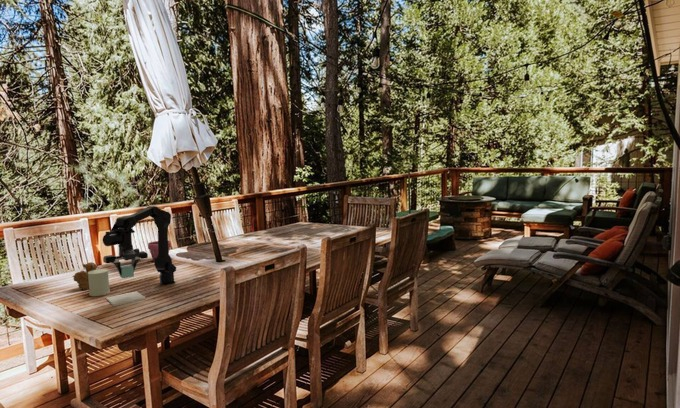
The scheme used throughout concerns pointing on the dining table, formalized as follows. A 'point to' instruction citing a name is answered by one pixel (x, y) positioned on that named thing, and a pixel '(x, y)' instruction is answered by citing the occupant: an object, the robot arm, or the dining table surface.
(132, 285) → the dining table surface
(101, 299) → the dining table surface
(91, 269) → the stuffed squirrel
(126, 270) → the cube
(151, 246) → the plant pot
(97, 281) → the can
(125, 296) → the plate
